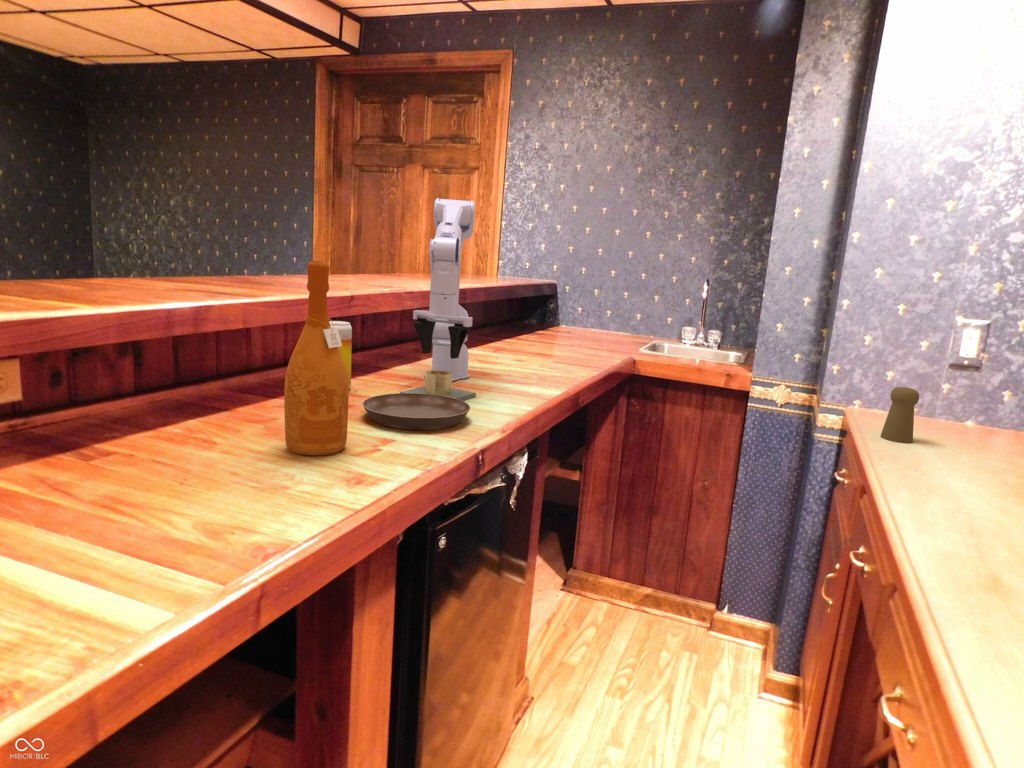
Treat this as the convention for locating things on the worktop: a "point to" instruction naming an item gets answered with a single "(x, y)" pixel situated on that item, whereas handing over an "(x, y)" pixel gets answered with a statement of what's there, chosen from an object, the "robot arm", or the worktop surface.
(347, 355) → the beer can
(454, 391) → the post plate
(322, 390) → the wine bottle
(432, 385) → the collar
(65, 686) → the worktop surface
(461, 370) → the robot arm
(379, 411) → the plant saucer
